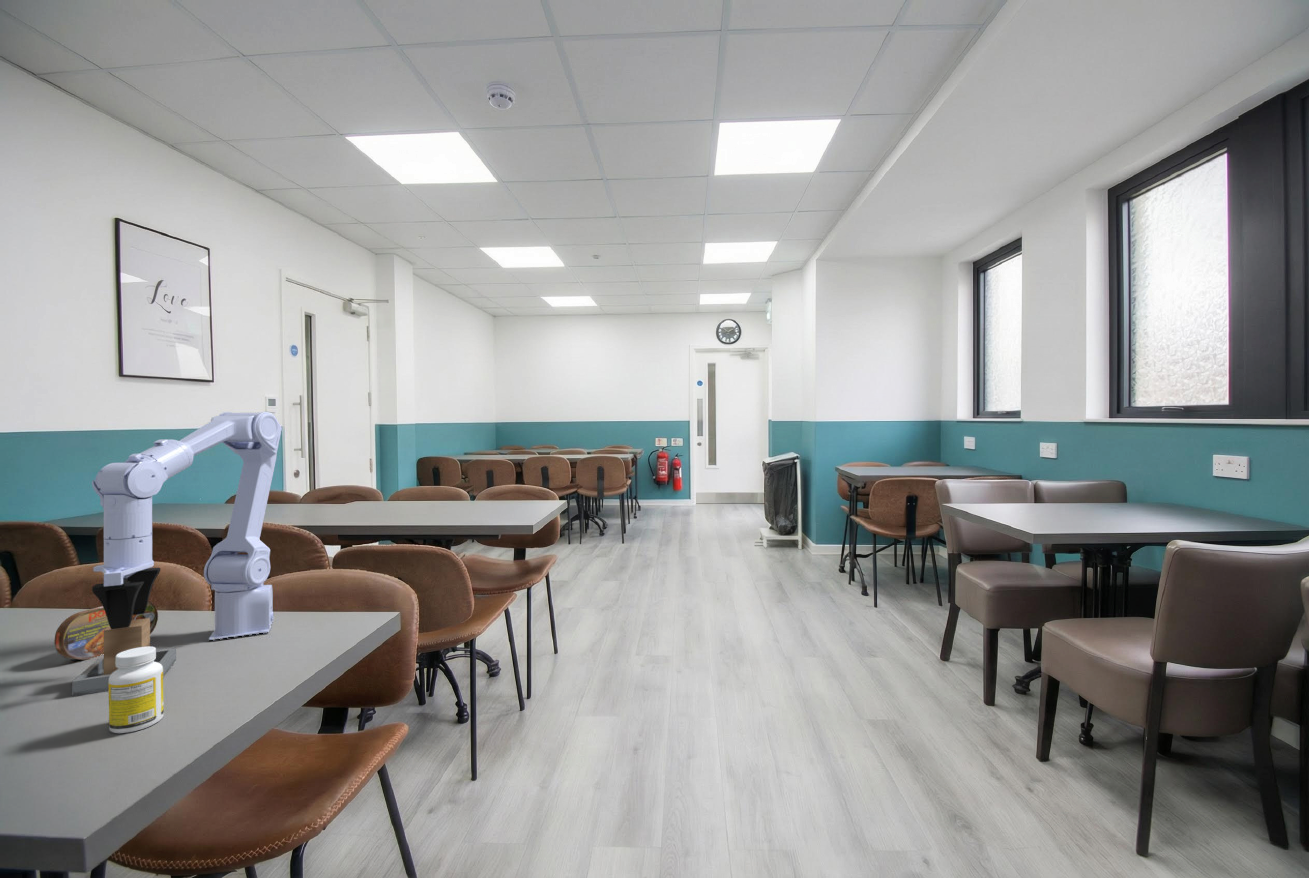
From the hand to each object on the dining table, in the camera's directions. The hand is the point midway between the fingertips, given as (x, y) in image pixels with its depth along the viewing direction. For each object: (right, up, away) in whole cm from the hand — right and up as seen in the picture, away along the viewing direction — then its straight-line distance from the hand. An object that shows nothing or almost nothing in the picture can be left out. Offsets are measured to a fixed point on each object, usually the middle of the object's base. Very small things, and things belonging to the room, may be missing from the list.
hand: (128, 620), depth 90 cm
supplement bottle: (+15, -9, -15) cm, 23 cm away
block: (0, -8, 0) cm, 9 cm away
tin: (-15, -10, +12) cm, 21 cm away
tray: (0, -9, 0) cm, 9 cm away
